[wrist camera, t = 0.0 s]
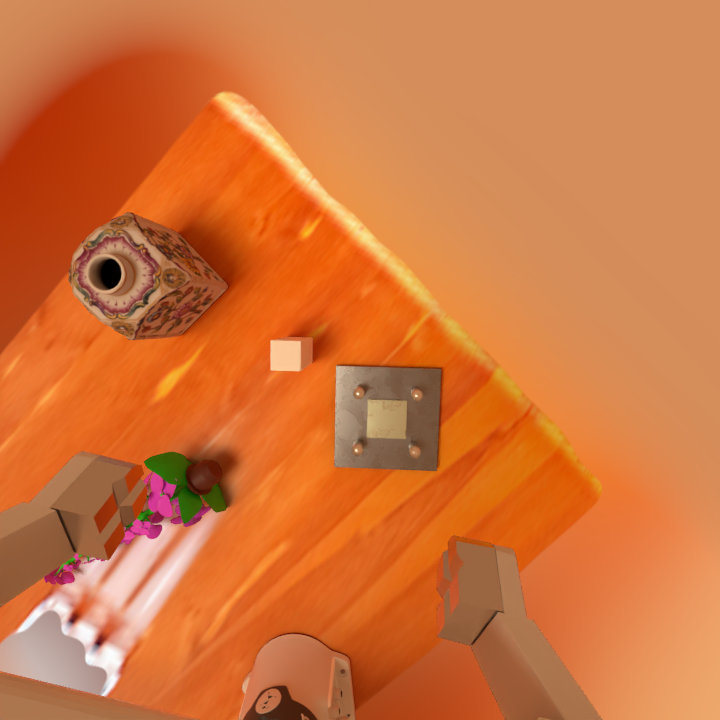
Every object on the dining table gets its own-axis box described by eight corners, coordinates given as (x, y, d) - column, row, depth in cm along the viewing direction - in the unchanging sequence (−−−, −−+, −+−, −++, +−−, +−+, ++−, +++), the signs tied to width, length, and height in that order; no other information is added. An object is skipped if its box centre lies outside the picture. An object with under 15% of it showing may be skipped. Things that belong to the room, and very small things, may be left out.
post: (312, 363, 65) (300, 371, 56) (287, 362, 66) (270, 370, 56) (312, 337, 65) (300, 341, 55) (287, 336, 65) (270, 340, 55)
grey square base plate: (435, 468, 66) (439, 478, 62) (335, 464, 67) (332, 473, 63) (440, 368, 65) (444, 371, 61) (336, 365, 65) (334, 368, 61)
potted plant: (253, 466, 72) (108, 561, 78) (178, 411, 63) (21, 524, 69) (251, 529, 62) (84, 632, 68) (161, 474, 53) (-21, 599, 59)
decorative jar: (180, 338, 66) (106, 346, 48) (128, 284, 66) (33, 271, 48) (233, 285, 65) (177, 273, 47) (180, 230, 64) (103, 196, 46)
